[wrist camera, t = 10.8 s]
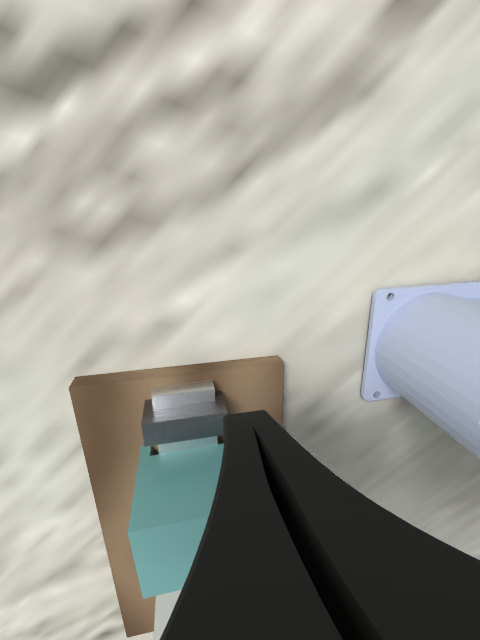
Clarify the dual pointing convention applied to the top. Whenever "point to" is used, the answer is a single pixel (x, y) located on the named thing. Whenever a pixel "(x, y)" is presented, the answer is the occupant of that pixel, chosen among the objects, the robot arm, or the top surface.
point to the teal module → (171, 514)
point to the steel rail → (183, 416)
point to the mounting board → (126, 440)
